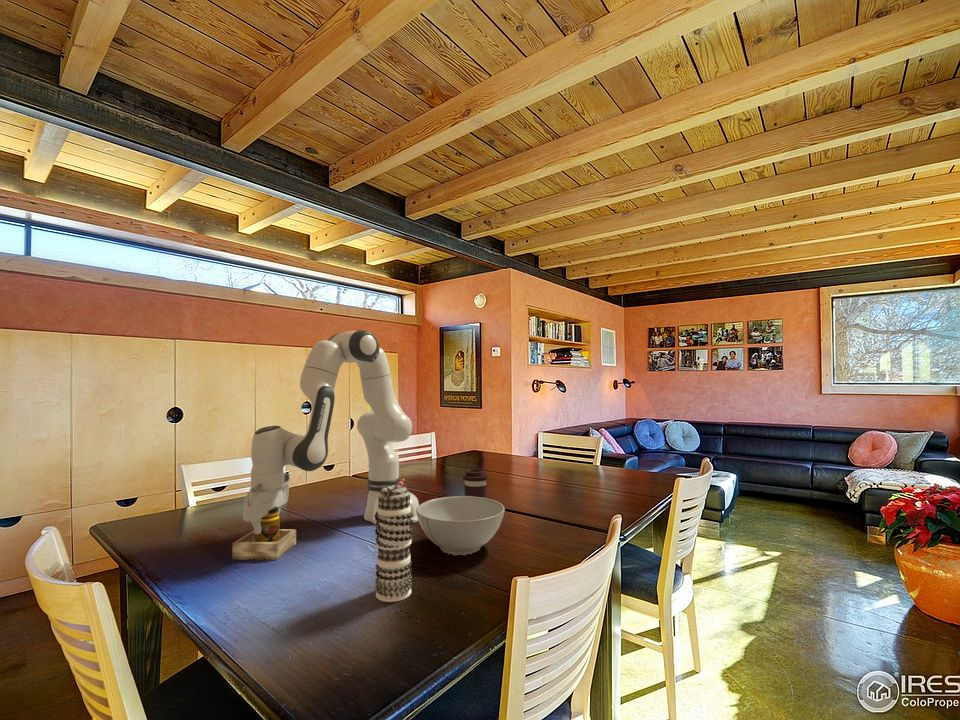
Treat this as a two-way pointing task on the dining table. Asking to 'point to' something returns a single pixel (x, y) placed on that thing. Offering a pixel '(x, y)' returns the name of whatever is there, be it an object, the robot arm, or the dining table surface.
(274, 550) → the caddy
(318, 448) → the robot arm
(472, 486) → the coffee cup
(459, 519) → the decorative bowl
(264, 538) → the condiment
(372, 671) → the dining table surface
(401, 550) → the decorative candle
